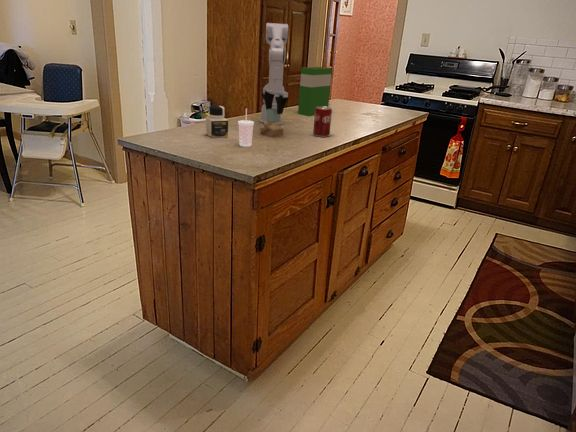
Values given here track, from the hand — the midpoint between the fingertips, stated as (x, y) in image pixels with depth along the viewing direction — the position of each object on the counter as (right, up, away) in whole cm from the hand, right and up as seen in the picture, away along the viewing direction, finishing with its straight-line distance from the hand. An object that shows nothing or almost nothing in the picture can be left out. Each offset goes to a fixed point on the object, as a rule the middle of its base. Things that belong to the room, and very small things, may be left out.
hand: (274, 112), depth 185 cm
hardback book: (+20, +13, +57) cm, 62 cm away
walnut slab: (-1, -9, +4) cm, 10 cm away
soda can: (+20, -8, +8) cm, 24 cm away
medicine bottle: (-23, -11, -4) cm, 26 cm away
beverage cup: (-11, -17, -16) cm, 25 cm away
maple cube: (-1, -6, +3) cm, 7 cm away
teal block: (0, -3, +2) cm, 4 cm away
